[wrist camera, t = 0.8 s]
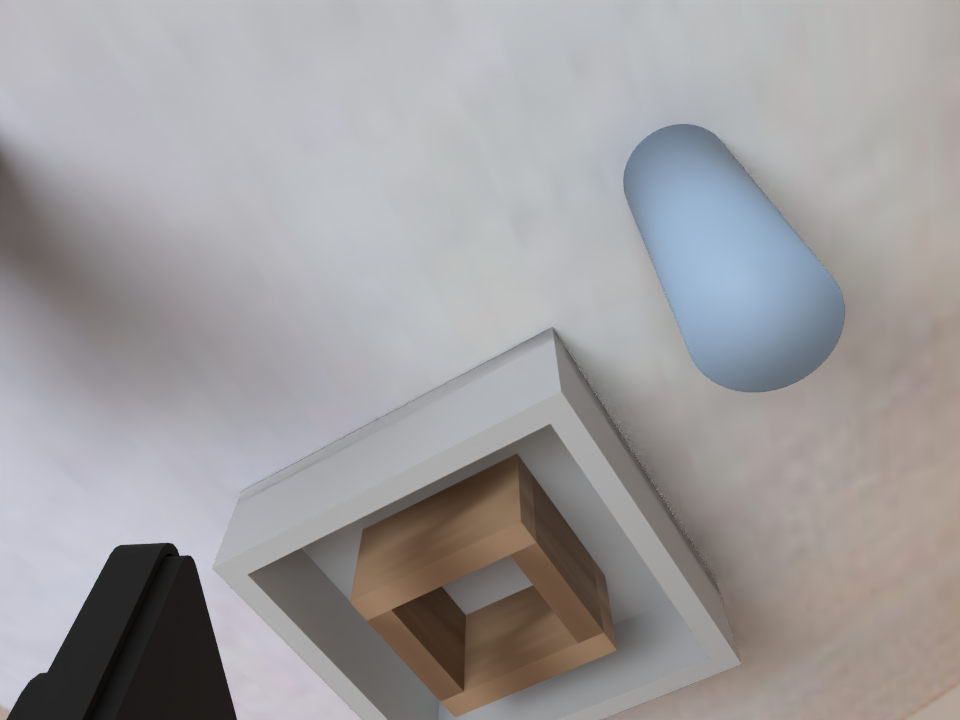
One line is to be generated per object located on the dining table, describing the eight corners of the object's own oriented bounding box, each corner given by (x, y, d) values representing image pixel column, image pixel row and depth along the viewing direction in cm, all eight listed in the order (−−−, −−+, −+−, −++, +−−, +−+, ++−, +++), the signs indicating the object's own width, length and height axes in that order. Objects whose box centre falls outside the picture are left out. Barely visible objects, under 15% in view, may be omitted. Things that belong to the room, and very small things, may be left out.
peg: (704, 103, 32) (809, 222, 22) (749, 195, 34) (867, 348, 23) (604, 160, 33) (659, 301, 23) (653, 247, 35) (724, 415, 24)
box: (552, 327, 37) (560, 391, 32) (715, 582, 43) (741, 664, 39) (241, 491, 41) (212, 568, 36) (434, 701, 47) (429, 787, 43)
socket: (517, 453, 38) (520, 521, 34) (604, 575, 42) (617, 650, 38) (362, 529, 40) (349, 602, 37) (457, 640, 44) (455, 717, 40)
